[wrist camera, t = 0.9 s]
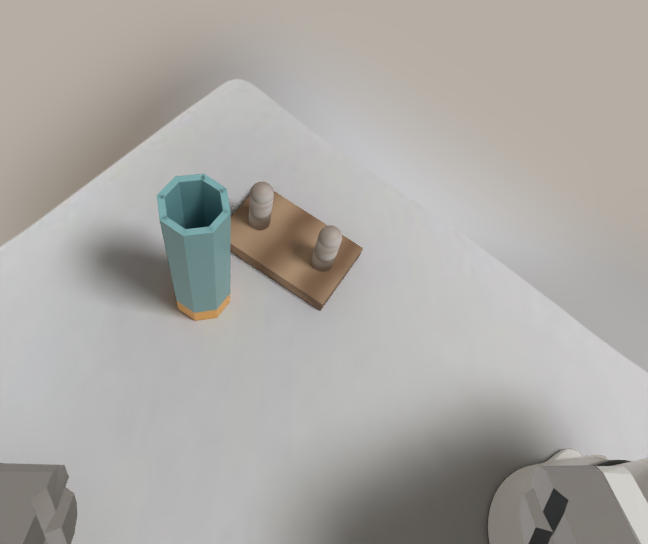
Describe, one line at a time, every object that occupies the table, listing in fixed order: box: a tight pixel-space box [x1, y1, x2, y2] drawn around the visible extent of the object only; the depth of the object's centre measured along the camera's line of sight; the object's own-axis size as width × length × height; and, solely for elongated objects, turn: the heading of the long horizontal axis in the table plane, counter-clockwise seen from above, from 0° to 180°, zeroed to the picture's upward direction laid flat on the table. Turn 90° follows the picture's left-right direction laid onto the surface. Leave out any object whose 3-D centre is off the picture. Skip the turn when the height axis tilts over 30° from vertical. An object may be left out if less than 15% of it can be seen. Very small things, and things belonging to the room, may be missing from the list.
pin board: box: [230, 182, 363, 310], centre depth 67 cm, size 15×9×9 cm, turn 57°
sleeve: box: [157, 174, 231, 321], centre depth 58 cm, size 6×6×20 cm
